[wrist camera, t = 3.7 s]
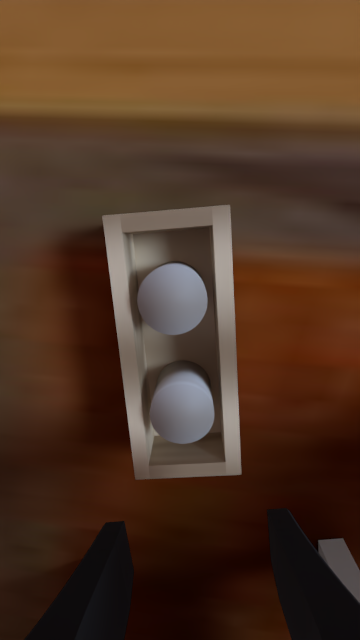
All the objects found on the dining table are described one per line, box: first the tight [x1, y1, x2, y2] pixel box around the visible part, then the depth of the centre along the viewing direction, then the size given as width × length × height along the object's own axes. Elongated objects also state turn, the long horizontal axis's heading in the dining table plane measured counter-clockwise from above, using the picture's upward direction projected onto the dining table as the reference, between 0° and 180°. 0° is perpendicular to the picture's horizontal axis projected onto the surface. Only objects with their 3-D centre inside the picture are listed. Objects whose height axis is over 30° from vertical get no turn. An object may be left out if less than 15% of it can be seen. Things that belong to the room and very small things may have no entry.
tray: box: [102, 205, 241, 480], centre depth 16 cm, size 12×5×4 cm, turn 5°
